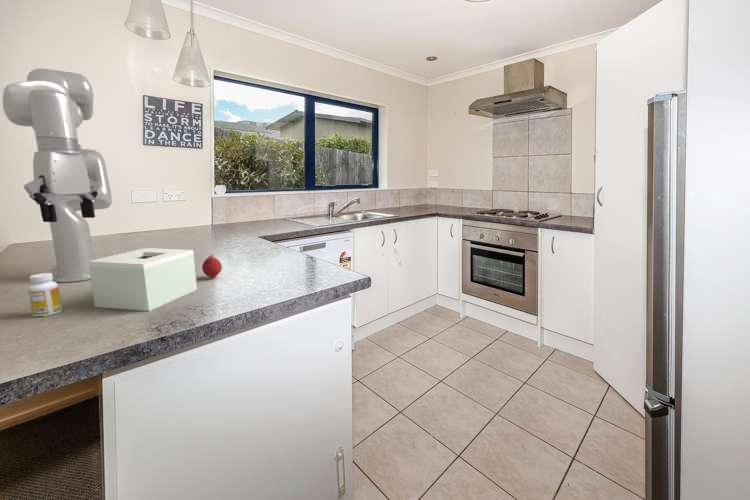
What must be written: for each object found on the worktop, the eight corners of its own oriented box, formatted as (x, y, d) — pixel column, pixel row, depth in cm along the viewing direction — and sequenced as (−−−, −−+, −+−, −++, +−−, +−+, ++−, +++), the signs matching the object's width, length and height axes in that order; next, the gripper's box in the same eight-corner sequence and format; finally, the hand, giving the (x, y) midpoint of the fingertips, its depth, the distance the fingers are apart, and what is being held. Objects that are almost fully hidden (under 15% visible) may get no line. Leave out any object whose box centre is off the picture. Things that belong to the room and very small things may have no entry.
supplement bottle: (58, 307, 92) (51, 270, 90) (65, 312, 89) (59, 274, 87) (30, 314, 87) (22, 275, 86) (36, 319, 84) (29, 279, 83)
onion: (215, 281, 116) (213, 256, 114) (199, 280, 117) (197, 256, 115) (226, 276, 121) (224, 253, 120) (210, 275, 123) (208, 252, 121)
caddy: (95, 306, 93) (87, 261, 90) (150, 286, 110) (145, 247, 108) (149, 311, 90) (143, 264, 87) (196, 289, 107) (193, 250, 105)
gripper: (79, 150, 94) (89, 216, 97) (3, 143, 77) (18, 223, 80) (104, 149, 93) (114, 216, 96) (32, 143, 76) (47, 224, 79)
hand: (70, 219), depth 88 cm, fingers open, 9 cm apart
